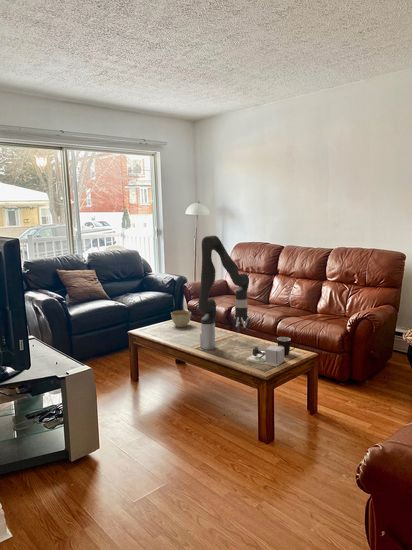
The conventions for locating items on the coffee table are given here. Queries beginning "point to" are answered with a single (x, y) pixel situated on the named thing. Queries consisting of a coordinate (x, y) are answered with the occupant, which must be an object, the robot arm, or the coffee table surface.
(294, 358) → the coffee table surface
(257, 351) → the plunger
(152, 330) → the coffee table surface
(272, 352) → the gauge body
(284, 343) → the coffee mug
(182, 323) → the planter bowl
